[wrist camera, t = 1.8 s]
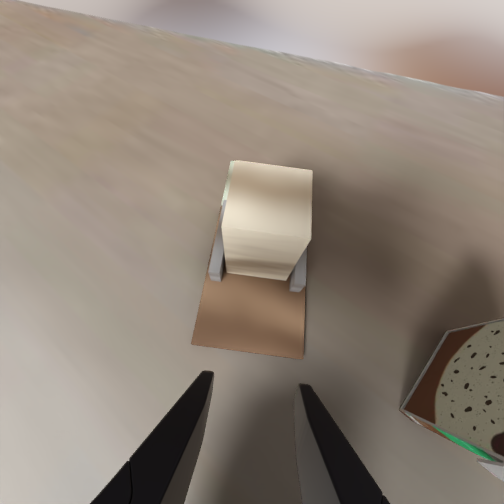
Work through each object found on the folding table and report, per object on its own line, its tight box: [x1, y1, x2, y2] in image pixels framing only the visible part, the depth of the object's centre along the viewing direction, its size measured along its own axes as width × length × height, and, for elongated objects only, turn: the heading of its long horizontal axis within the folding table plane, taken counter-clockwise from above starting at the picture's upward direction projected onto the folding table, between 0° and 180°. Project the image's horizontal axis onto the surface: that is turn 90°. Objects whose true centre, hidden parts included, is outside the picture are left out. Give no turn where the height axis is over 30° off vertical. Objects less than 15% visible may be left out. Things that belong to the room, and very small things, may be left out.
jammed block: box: [221, 160, 313, 281], centre depth 21 cm, size 6×6×9 cm
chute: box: [191, 161, 307, 359], centre depth 25 cm, size 22×10×3 cm, turn 173°
